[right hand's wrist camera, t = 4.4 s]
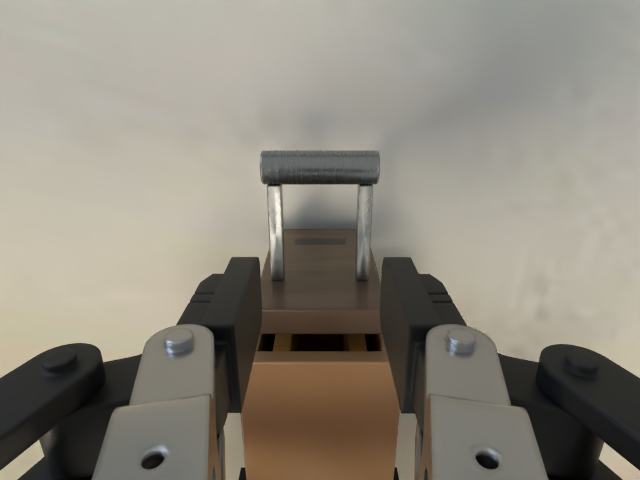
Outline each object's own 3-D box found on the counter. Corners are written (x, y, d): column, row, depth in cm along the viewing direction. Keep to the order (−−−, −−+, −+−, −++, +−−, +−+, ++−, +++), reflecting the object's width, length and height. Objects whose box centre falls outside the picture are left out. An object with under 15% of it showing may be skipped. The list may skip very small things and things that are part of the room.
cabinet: (267, 251, 28) (235, 362, 17) (372, 251, 28) (404, 362, 17) (278, 458, 34) (259, 631, 24) (361, 458, 34) (380, 631, 24)
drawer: (270, 130, 24) (241, 164, 15) (369, 130, 24) (398, 165, 15) (283, 439, 32) (269, 579, 24) (356, 439, 32) (370, 579, 24)
